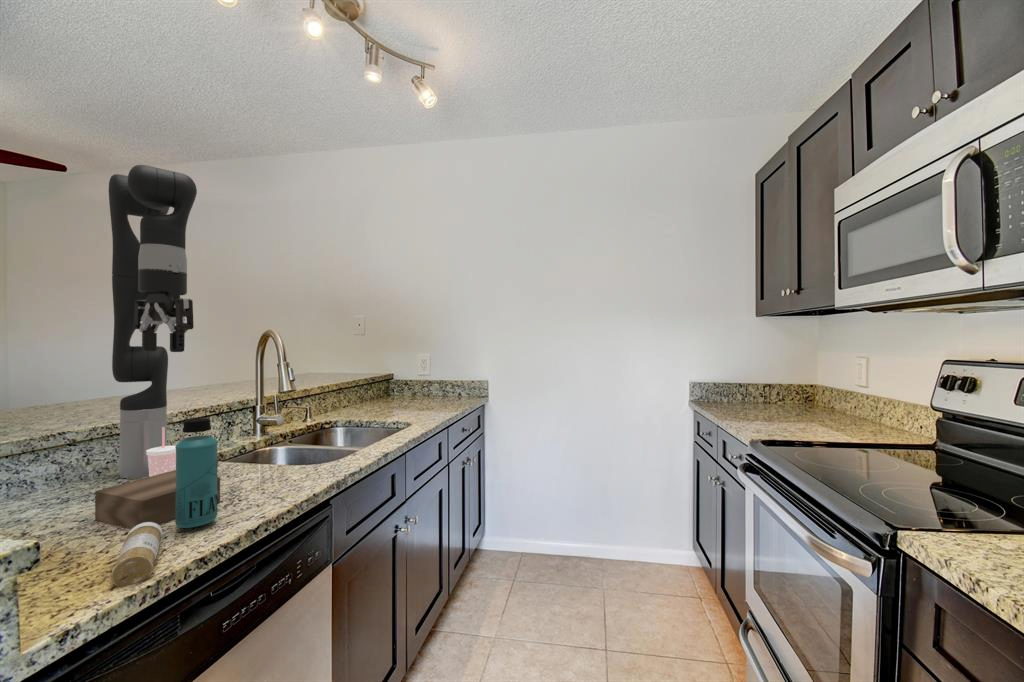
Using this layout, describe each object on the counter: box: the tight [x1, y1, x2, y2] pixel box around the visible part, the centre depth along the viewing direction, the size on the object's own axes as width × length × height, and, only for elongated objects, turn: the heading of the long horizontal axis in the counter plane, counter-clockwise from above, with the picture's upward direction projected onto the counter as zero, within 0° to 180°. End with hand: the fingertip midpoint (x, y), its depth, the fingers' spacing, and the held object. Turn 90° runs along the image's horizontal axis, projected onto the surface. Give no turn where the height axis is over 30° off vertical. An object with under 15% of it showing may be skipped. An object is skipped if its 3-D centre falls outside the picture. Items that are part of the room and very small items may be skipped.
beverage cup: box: [146, 427, 176, 477], centre depth 99 cm, size 6×6×14 cm
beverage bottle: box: [174, 417, 219, 529], centre depth 77 cm, size 6×7×20 cm
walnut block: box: [94, 470, 221, 530], centre depth 85 cm, size 14×14×6 cm
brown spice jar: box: [110, 522, 164, 588], centre depth 64 cm, size 5×5×14 cm
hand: (163, 351), depth 85 cm, fingers open, 8 cm apart
